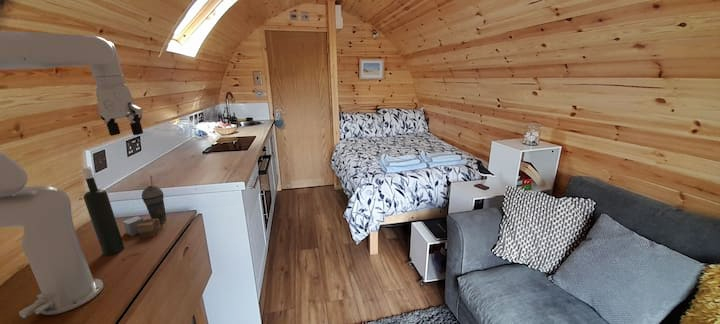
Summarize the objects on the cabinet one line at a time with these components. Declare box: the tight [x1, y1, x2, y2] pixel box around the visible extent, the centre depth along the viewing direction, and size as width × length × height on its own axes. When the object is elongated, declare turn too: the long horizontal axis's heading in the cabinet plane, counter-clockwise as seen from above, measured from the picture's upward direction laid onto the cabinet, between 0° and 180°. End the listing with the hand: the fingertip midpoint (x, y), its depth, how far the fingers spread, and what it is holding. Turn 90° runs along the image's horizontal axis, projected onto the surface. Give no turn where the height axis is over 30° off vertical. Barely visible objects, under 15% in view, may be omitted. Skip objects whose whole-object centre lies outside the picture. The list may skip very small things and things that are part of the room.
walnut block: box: [137, 218, 163, 238], centre depth 111 cm, size 5×5×5 cm
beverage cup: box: [141, 175, 167, 224], centre depth 119 cm, size 7×7×20 cm
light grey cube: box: [122, 216, 145, 236], centre depth 114 cm, size 5×5×5 cm
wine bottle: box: [81, 166, 125, 257], centre depth 97 cm, size 6×6×30 cm
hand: (126, 134), depth 100 cm, fingers open, 9 cm apart
